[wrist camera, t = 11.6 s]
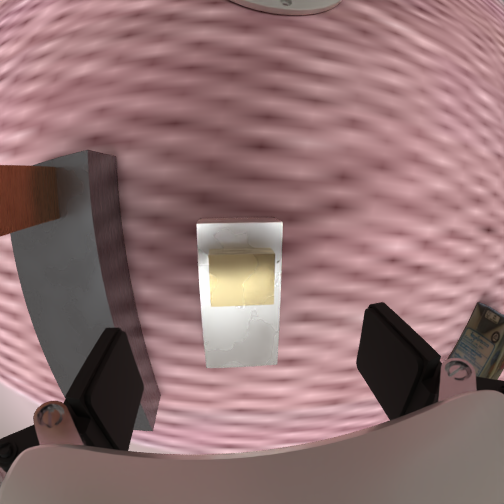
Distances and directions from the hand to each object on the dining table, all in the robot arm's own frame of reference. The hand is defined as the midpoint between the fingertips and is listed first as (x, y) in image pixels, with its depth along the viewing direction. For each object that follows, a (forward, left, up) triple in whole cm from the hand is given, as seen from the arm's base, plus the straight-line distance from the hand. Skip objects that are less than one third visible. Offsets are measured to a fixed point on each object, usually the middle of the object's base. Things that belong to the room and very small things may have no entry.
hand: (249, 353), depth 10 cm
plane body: (+1, -11, -10) cm, 15 cm away
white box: (+1, 0, -10) cm, 10 cm away
